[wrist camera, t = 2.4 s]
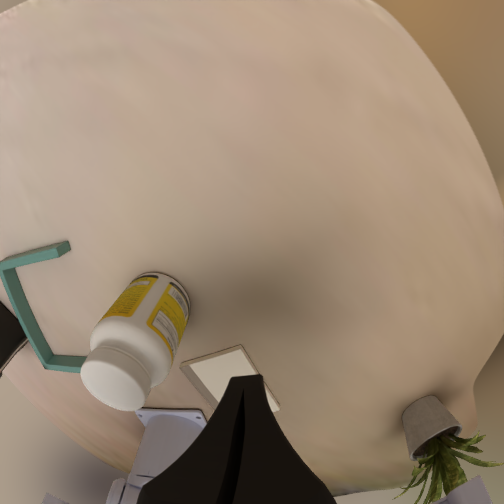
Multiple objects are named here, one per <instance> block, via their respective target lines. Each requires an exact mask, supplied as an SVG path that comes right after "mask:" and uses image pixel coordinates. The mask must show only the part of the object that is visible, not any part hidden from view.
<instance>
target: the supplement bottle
mask: <svg viewBox="0 0 504 504" xmlns="http://www.w3.org/2000/svg"><path fill="white" fill-rule="evenodd" d="M189 314H190V302H189V298H188V296H187V294H186V292H185V290H184V289H183V287H182V286H181V285H180V284H179V283H178V282H177V281H175V280H174V279H172V278H171V277H169V276H166V275H164V274H160V273H146V274H142V275H140V276H138V277H137V278H135V279H134V280H133V281H132V282H131V283H130V285H129V286H128V287H127V288H126V289H125V290H124V292H123V293H122V294H121V295H120V297H119V298H118V299H117V300H116V301H115V303H114V304H113V305H112V306H111V308H110V309H109V310H108V311H107V313H106V314H105V315H104V316H103V317H102V319H101V320H100V321H99V322H98V324H97V325H96V327H95V328H94V330H93V332H92V334H91V339H90V347H91V352H90V354H89V355H88V357H87V358H86V360H85V362H84V363H83V365H82V367H81V371H80V373H81V378H82V381H83V383H84V385H85V387H86V388H87V389H88V390H89V392H90V393H91V394H92V395H93V396H95V397H96V398H97V399H98V400H100V401H101V402H103V403H104V404H106V405H108V406H110V407H112V408H115V409H118V410H122V411H136V410H138V409H140V408H141V407H143V405H144V404H145V401H146V399H147V397H148V395H149V392H150V389H151V388H153V387H156V386H158V385H159V384H161V383H162V382H163V381H164V380H165V379H166V377H167V376H168V373H169V371H170V369H171V366H172V363H173V360H174V357H175V355H176V352H177V349H178V346H179V344H180V341H181V338H182V335H183V332H184V330H185V327H186V324H187V321H188V318H189Z"/></svg>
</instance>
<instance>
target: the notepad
mask: <svg viewBox="0 0 504 504" xmlns="http://www.w3.org/2000/svg"><path fill="white" fill-rule="evenodd" d="M180 369H181V370H182V372H183V373H184V374H185V375H186V377H187V378H188V379H189V380H190V382H191V383H192V384H193V385H194V387H195V388H196V389H197V390H198V391H199V393H200V394H201V395H202V396H203V397H204V399H205V400H206V401H207V402H208V403H209V404H210V406H211V407H212V408H213V409H214V410H215V409H216V408H217V406H218V404H219V402H220V400H221V398H222V396H223V394H224V392H225V390H226V388H227V385H228V383H229V380H230V378H231V377H235V376H246V375H255V374H259V373H258V371H257V370H256V368H255V367H254V365H253V363H252V362H251V360H250V359H249V357H248V355H247V354H246V352H245V351H244V349H243V347H242V346H241V345H238V346H235V347H232V348H229V349H226V350H223V351H220V352H217V353H213V354H210V355H207V356H204V357H200V358H197V359H194V360H190V361H187V362H183V363H181V365H180ZM264 385H265V390H266V395H267V399H268V403H269V405H270V408H271V410H272V412H275V411H279V410H280V405H279V404H278V402H277V401H276V399H275V398H274V396H273V395H272V393H271V392H270V390H269V388H268V387H267V385H266V384H265V382H264Z"/></svg>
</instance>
